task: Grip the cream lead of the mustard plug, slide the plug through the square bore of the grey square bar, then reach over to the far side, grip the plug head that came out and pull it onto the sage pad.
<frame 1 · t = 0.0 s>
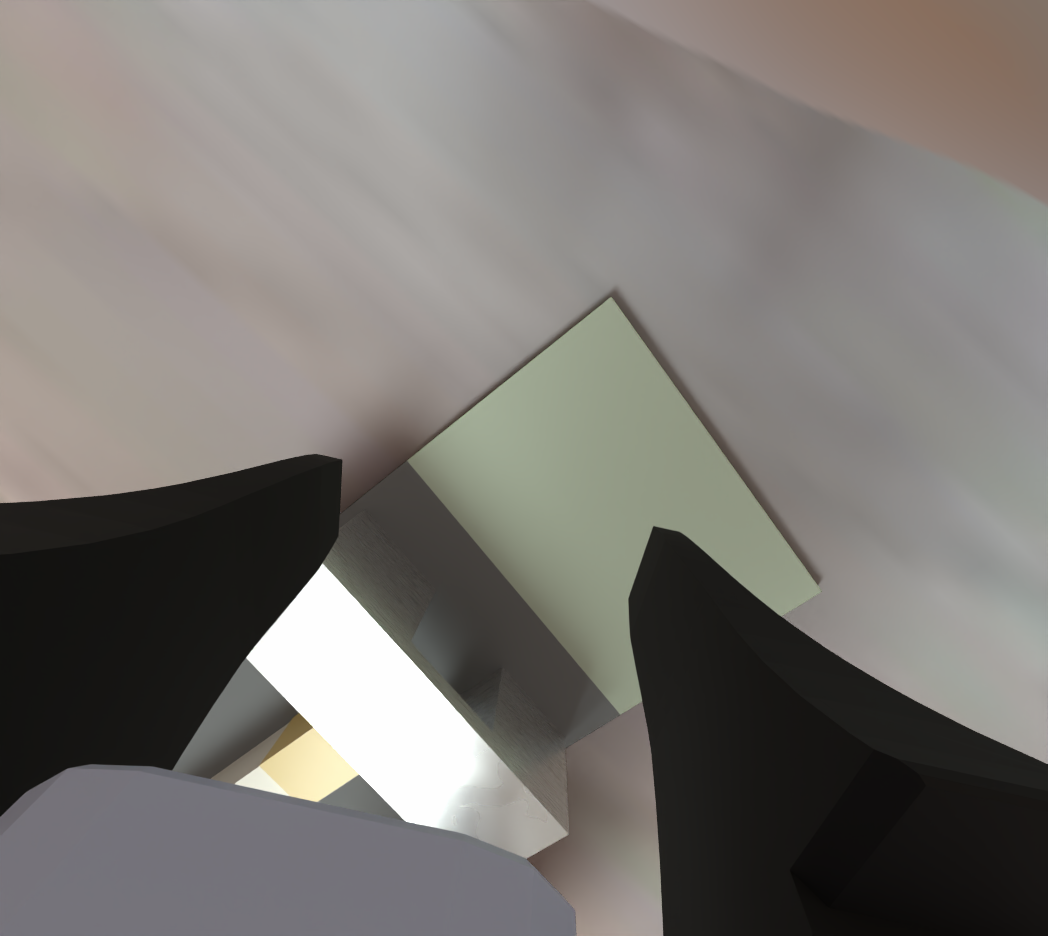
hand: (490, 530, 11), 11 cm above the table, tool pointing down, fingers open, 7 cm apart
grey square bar: (430, 656, 23), resting on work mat
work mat: (394, 677, 24), on the table
plug: (344, 715, 24), resting on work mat
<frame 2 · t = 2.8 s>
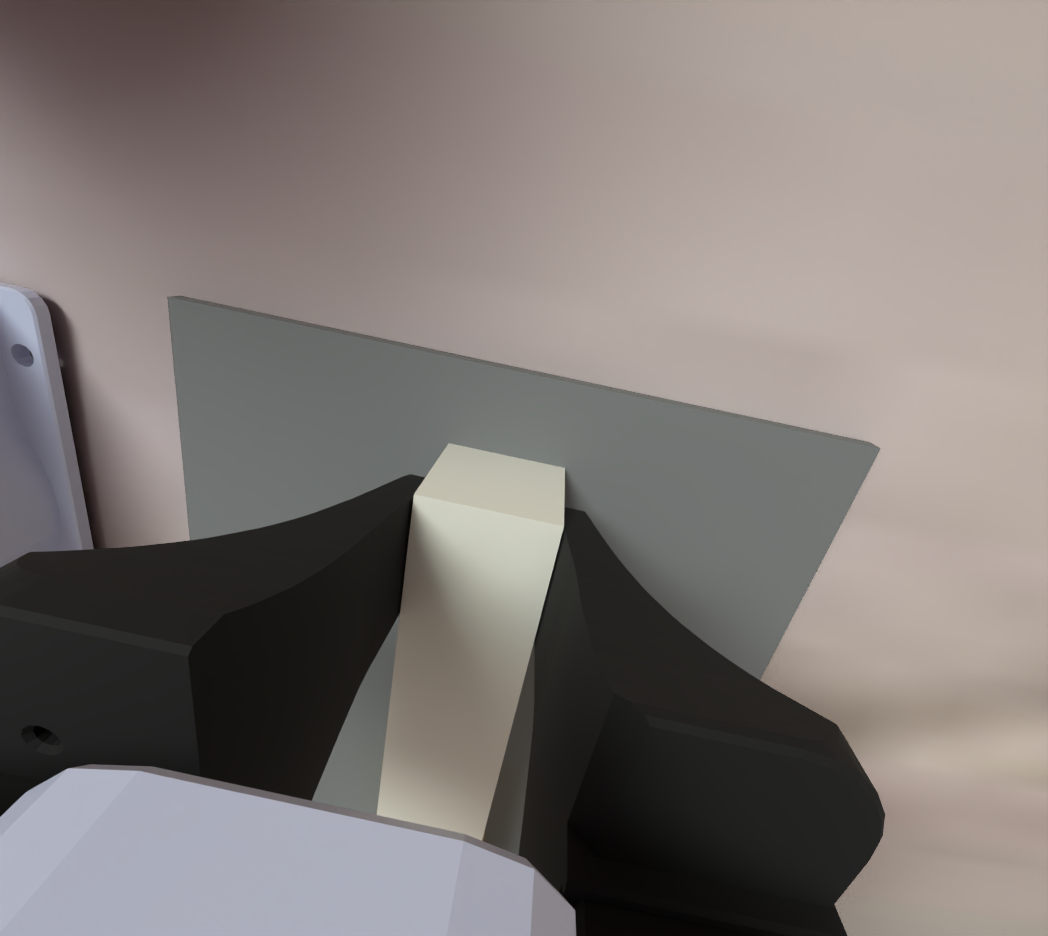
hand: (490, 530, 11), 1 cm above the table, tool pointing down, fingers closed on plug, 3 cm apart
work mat: (432, 843, 18), on the table
plug: (440, 798, 16), resting on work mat, touching gripper
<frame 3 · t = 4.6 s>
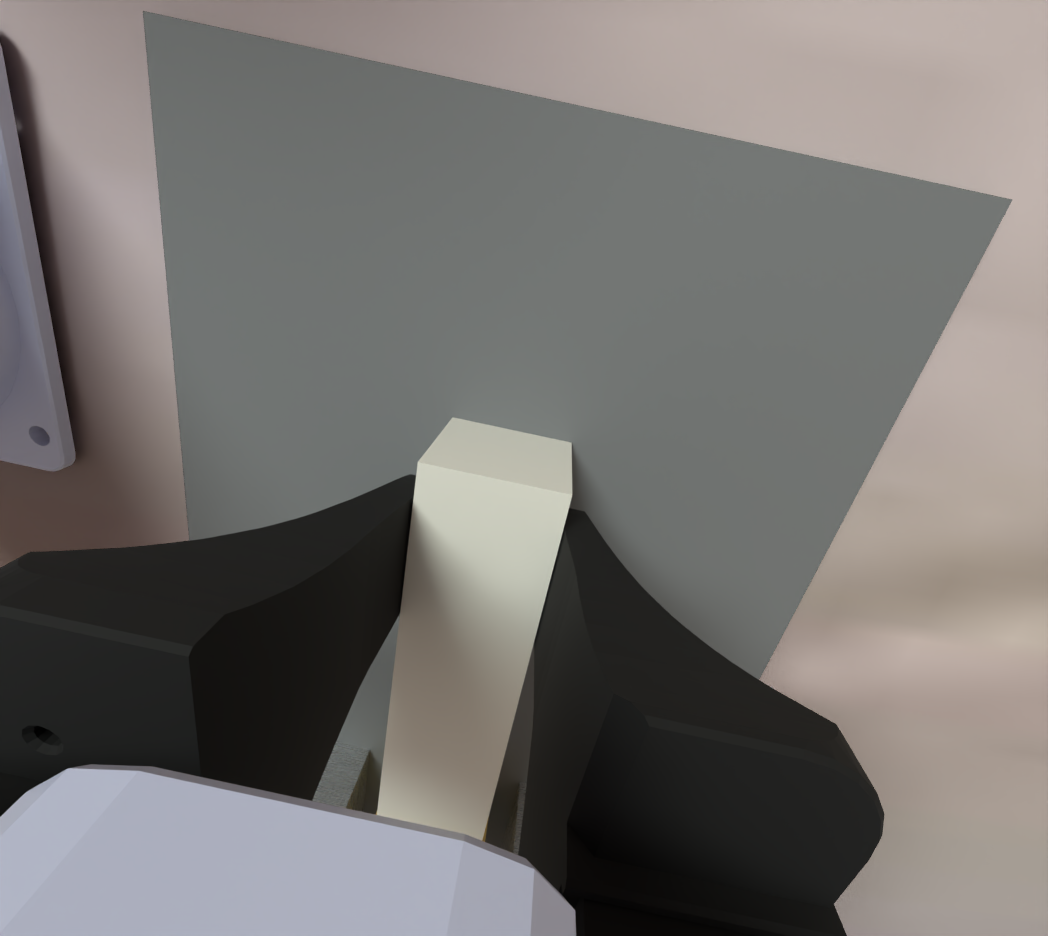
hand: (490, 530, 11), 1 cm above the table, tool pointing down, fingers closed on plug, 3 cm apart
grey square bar: (435, 813, 17), resting on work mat
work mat: (447, 754, 16), on the table
plug: (442, 787, 16), resting on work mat, touching gripper
when the fingers open (1 cm above the table, at t = 6.5 s): plug stays where it is, resting on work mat.
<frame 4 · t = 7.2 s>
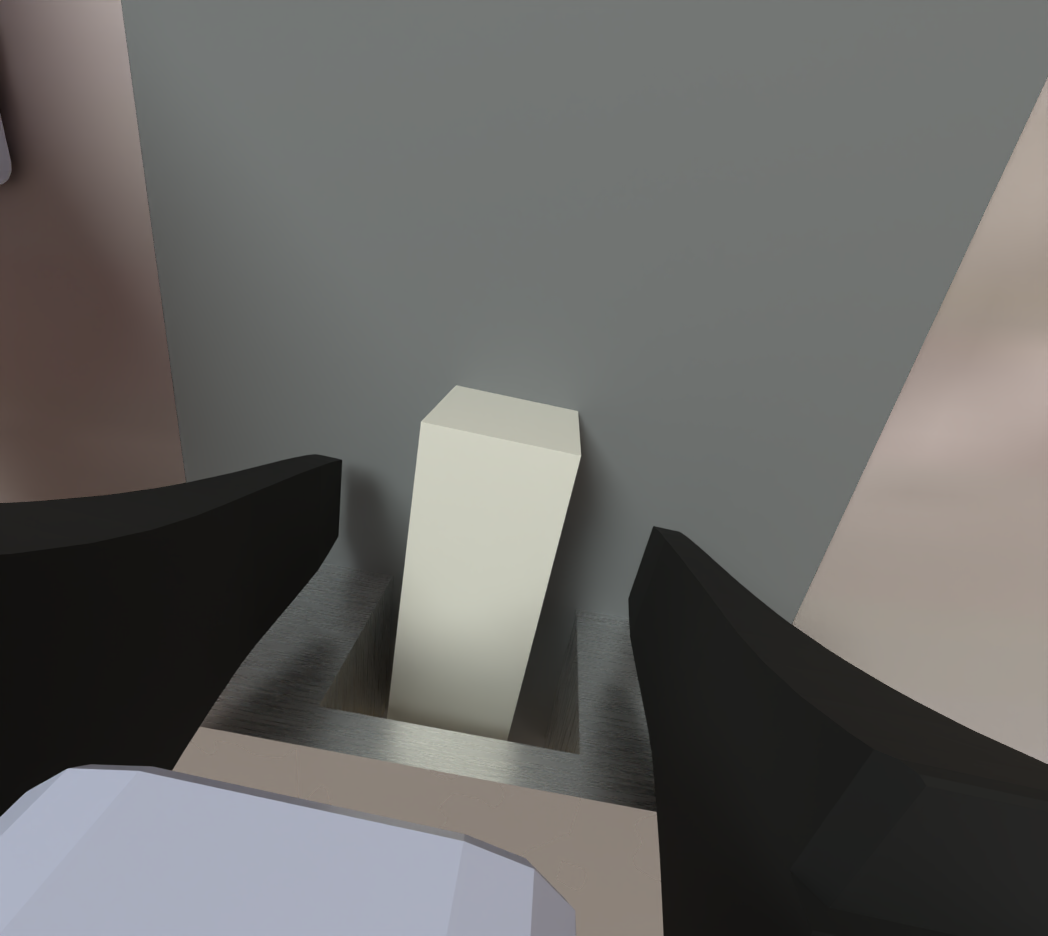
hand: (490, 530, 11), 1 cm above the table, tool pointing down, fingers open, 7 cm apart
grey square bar: (474, 662, 14), resting on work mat
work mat: (486, 583, 13), on the table
plug: (444, 771, 16), resting on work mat
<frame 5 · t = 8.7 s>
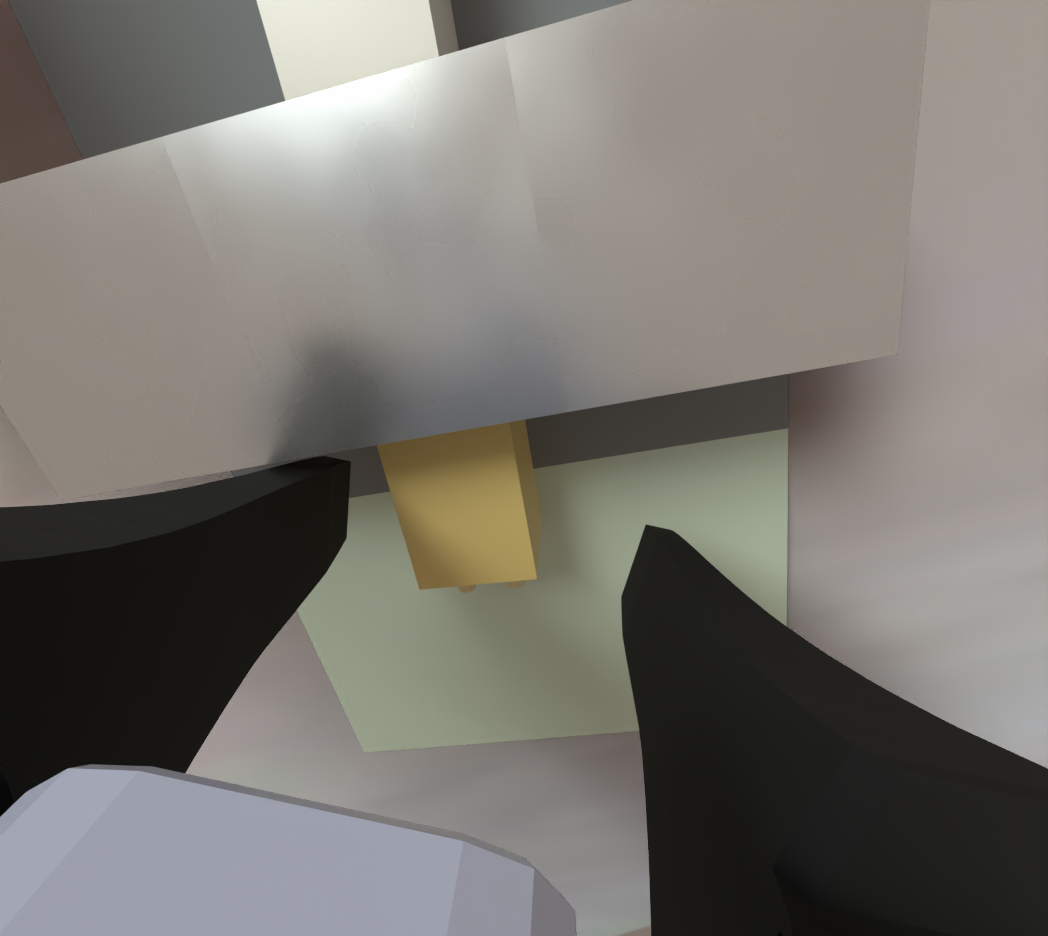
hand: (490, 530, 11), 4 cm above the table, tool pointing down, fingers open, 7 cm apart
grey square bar: (449, 274, 12), resting on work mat
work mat: (425, 162, 11), on the table
plug: (478, 455, 14), resting on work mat
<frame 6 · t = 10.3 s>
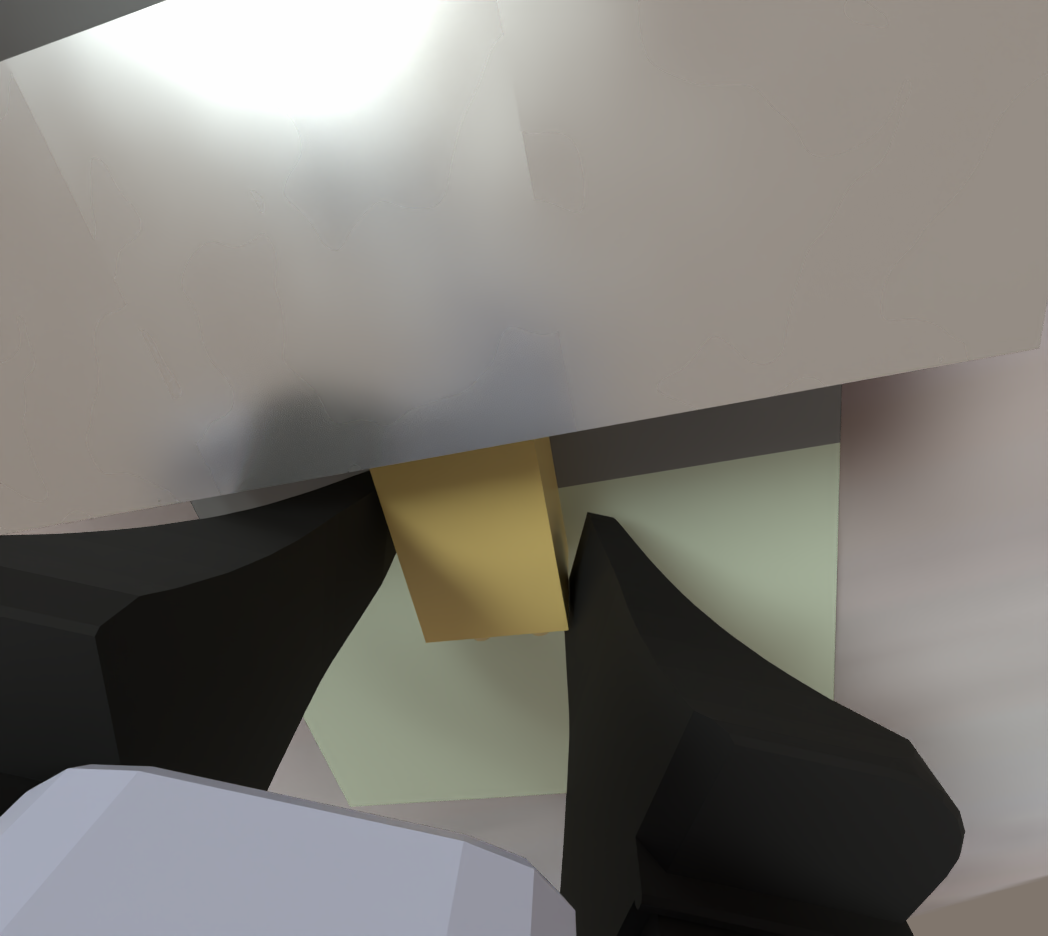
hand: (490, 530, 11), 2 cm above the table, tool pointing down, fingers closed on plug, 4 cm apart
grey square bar: (431, 264, 10), resting on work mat
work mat: (401, 129, 10), on the table
plug: (493, 477, 12), resting on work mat, touching gripper
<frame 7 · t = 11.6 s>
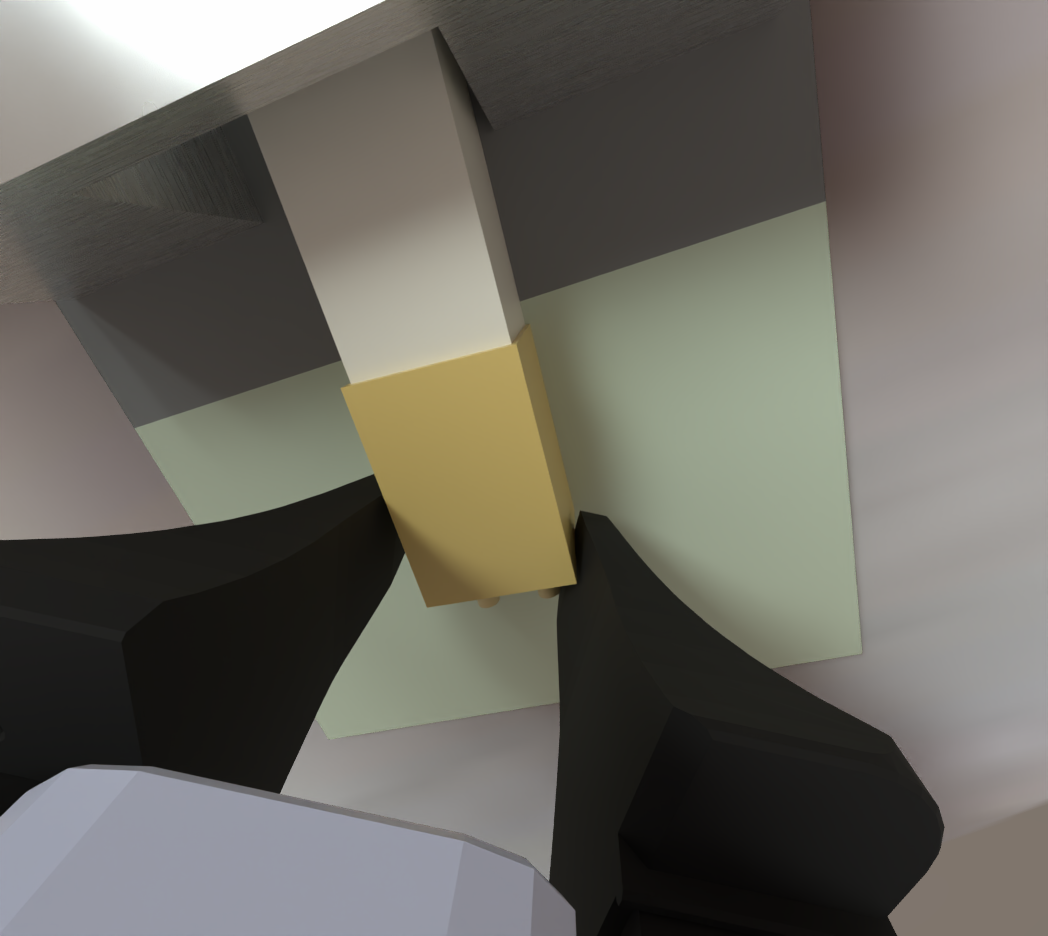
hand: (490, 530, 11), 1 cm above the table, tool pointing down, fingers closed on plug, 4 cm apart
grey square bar: (316, 24, 9), resting on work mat
plug: (490, 437, 11), resting on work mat, touching gripper
when the fingers open (1 cm above the table, at t = 11.6 s): plug stays where it is, resting on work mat.
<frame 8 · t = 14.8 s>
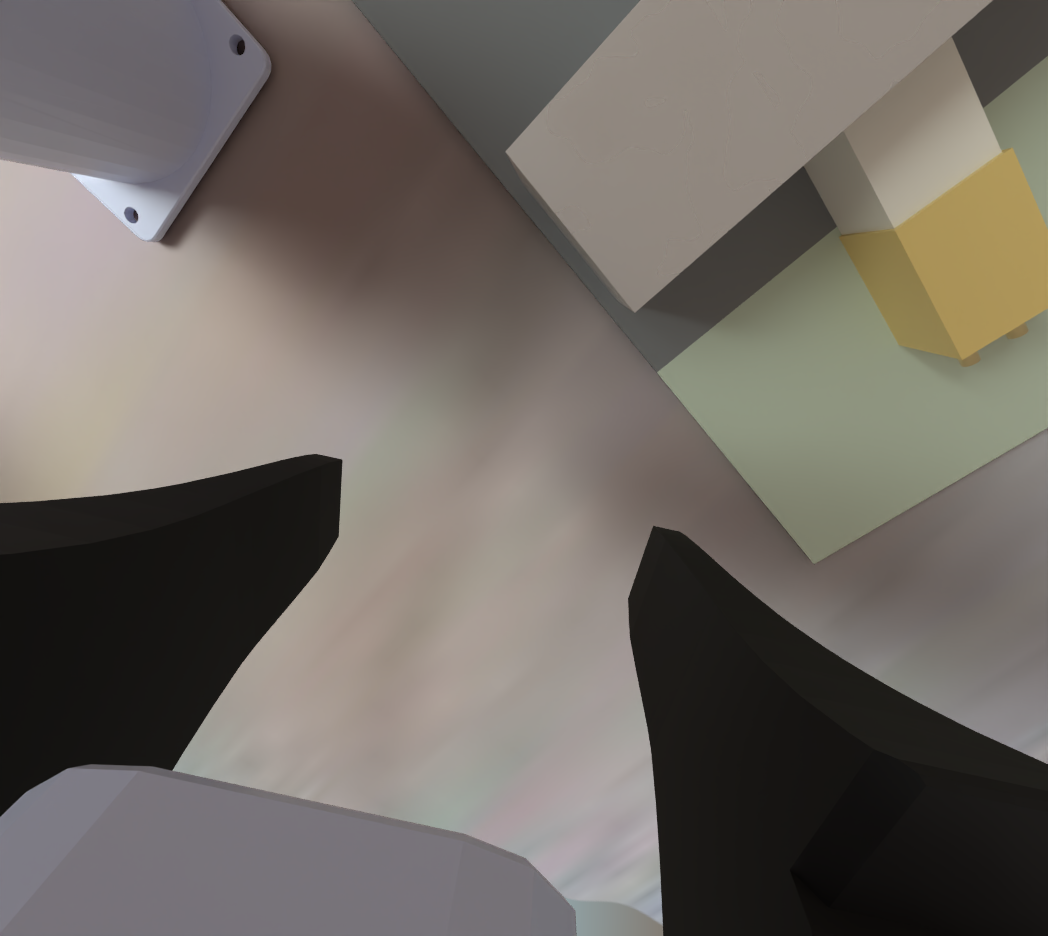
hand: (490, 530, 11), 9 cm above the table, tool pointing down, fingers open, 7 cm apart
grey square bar: (763, 56, 14), resting on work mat
plug: (914, 262, 16), resting on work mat
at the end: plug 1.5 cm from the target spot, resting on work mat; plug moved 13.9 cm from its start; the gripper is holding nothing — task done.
